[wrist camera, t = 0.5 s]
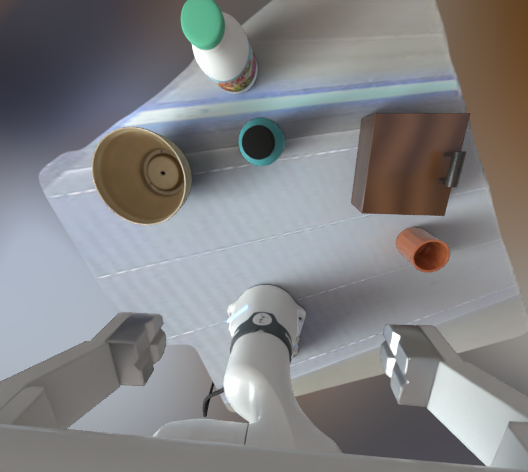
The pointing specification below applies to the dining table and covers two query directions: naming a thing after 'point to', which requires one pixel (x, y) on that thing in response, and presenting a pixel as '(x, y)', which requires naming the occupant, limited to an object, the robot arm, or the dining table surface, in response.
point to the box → (362, 160)
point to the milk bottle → (219, 45)
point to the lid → (413, 162)
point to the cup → (423, 249)
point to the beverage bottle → (261, 141)
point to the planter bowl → (141, 175)
